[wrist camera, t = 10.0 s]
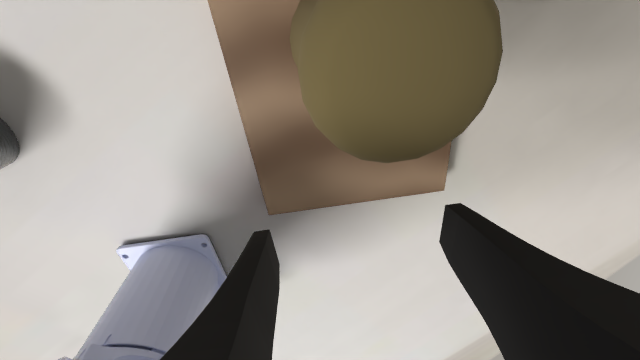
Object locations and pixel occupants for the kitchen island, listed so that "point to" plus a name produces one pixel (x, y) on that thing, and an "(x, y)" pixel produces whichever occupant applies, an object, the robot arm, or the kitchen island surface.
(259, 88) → the walnut board
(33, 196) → the kitchen island surface
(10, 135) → the grey domed cylinder
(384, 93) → the olive peg
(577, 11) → the kitchen island surface
